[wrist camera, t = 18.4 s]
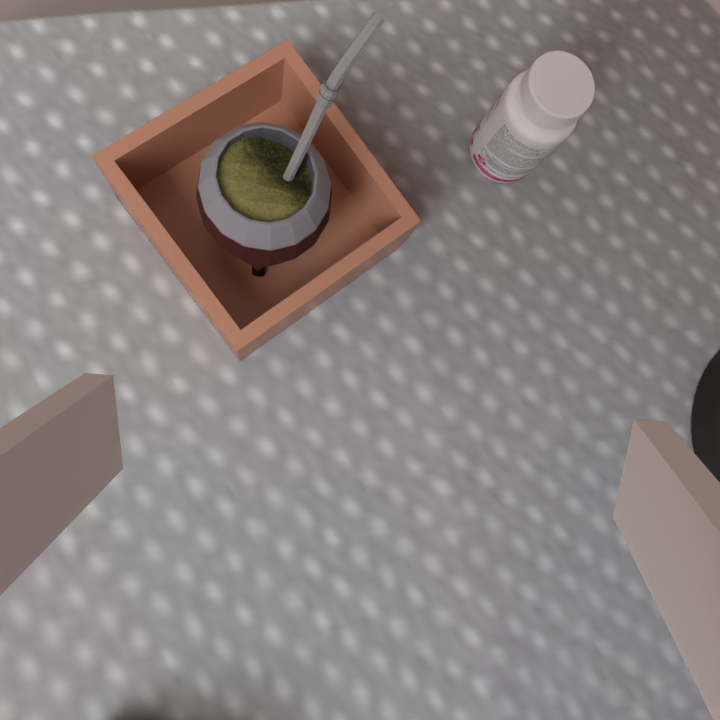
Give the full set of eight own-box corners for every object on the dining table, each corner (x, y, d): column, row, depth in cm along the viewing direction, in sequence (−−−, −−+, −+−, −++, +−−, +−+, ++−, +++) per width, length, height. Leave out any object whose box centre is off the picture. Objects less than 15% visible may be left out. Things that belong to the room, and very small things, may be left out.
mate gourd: (198, 274, 36) (157, 171, 21) (215, 150, 37) (188, -32, 22) (321, 291, 37) (365, 206, 22) (335, 171, 38) (385, 11, 23)
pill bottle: (540, 180, 41) (610, 120, 33) (476, 189, 40) (532, 130, 32) (525, 115, 42) (591, 39, 33) (461, 122, 41) (513, 46, 33)
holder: (283, 92, 39) (287, 39, 33) (398, 248, 39) (421, 221, 34) (115, 195, 36) (91, 156, 31) (239, 361, 37) (237, 351, 31)
